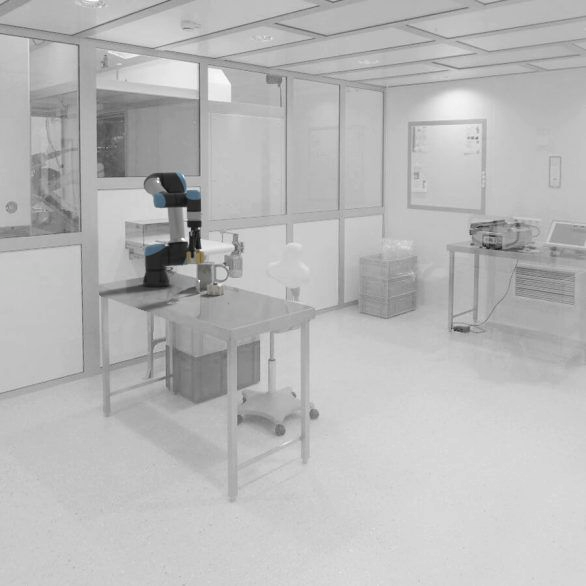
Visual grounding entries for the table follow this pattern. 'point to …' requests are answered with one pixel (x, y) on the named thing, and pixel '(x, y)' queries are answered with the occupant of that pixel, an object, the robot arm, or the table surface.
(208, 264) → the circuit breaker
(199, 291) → the gear plate
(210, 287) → the gear
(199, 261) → the brass gear
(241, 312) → the table surface
